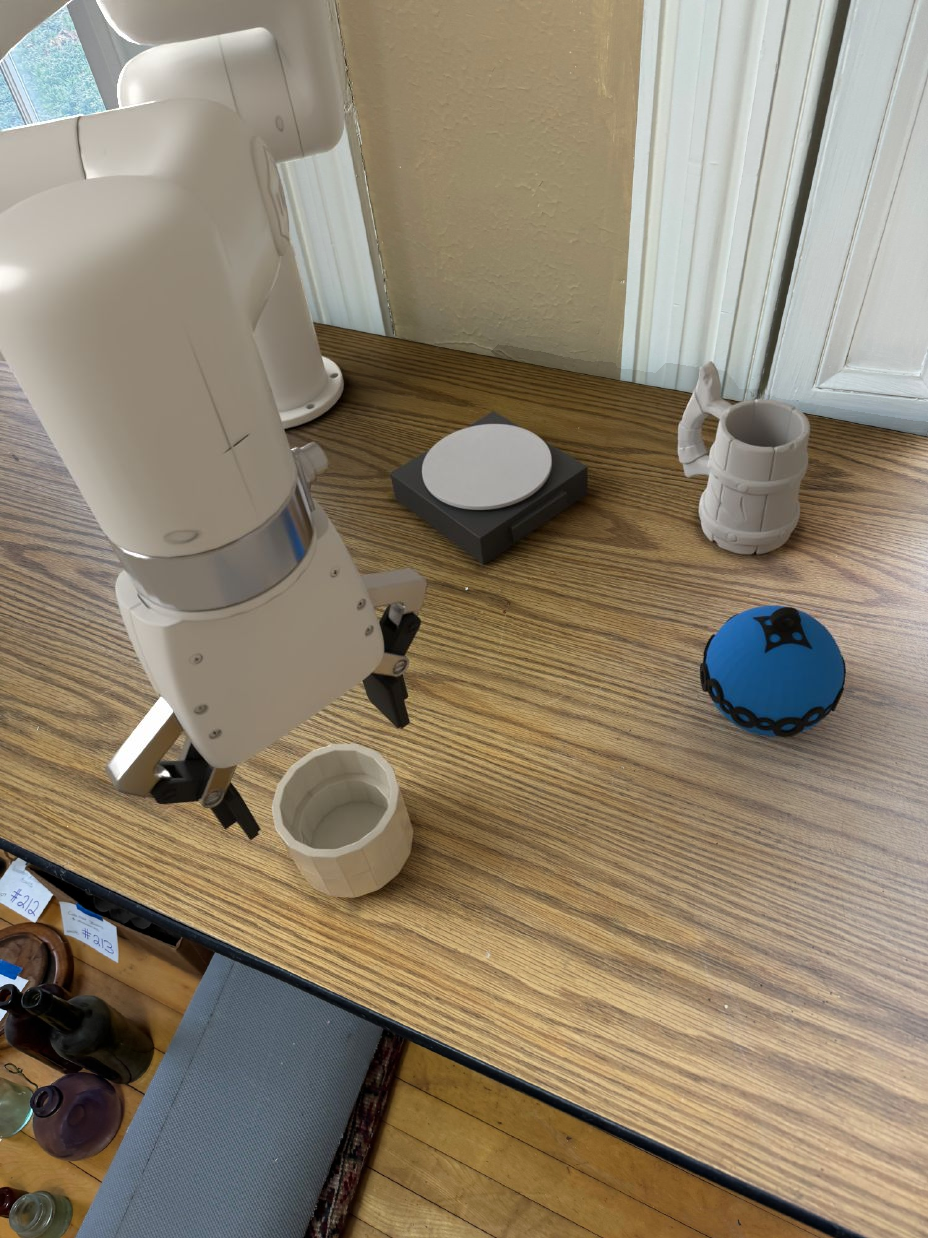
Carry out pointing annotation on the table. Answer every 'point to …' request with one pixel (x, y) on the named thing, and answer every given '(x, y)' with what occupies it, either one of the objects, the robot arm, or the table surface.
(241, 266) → the robot arm
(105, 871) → the table surface
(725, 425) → the mug
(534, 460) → the scale
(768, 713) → the ornament
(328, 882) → the off-white faceted cup
